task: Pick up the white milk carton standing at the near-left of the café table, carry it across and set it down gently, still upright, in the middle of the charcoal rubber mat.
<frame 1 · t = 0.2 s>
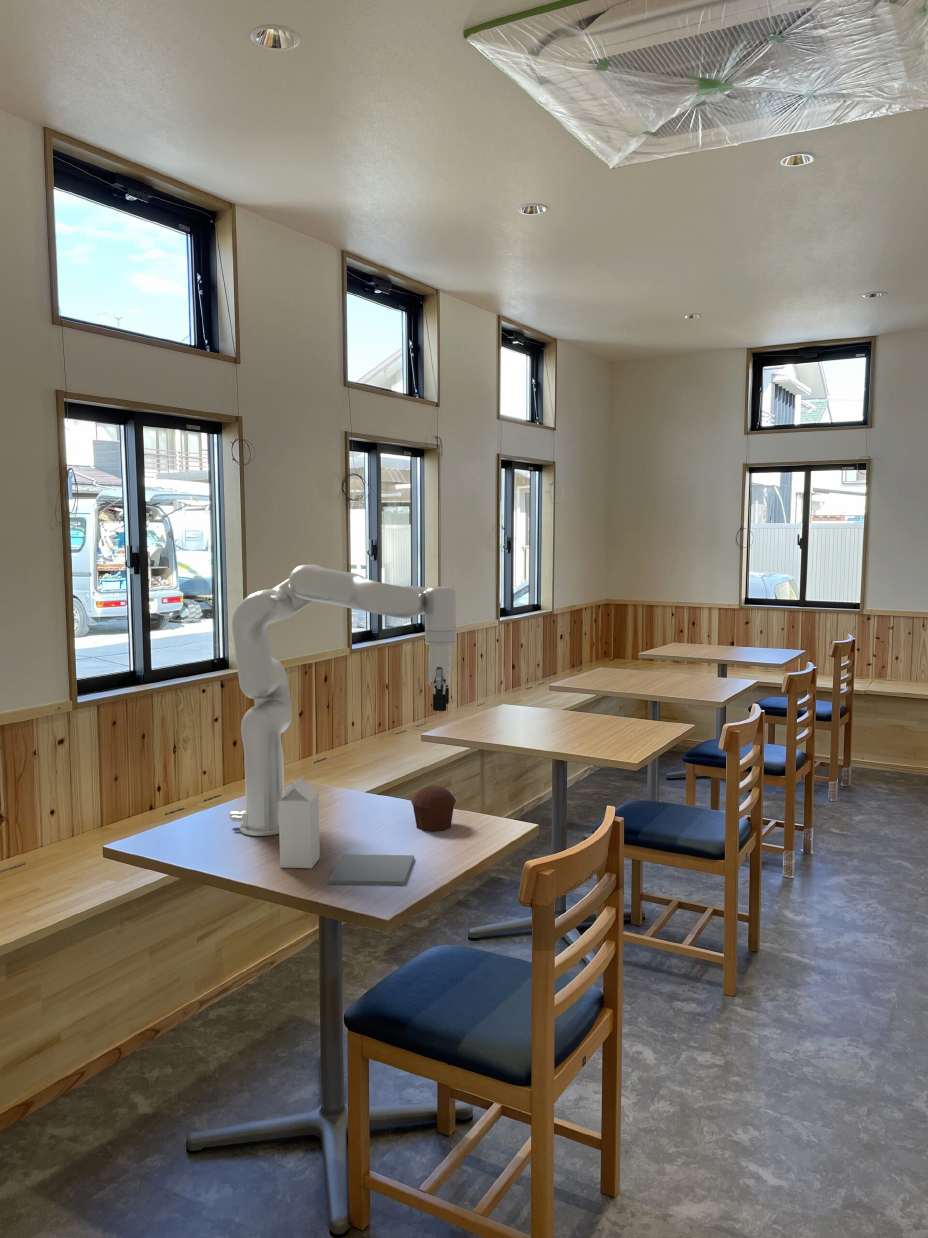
hand: (441, 707, 216), 31 cm above the table, tool pointing down, fingers open, 9 cm apart
mat: (372, 871, 192), on the table
milk carton: (300, 864, 197), on the table
muffin: (434, 827, 223), on the table
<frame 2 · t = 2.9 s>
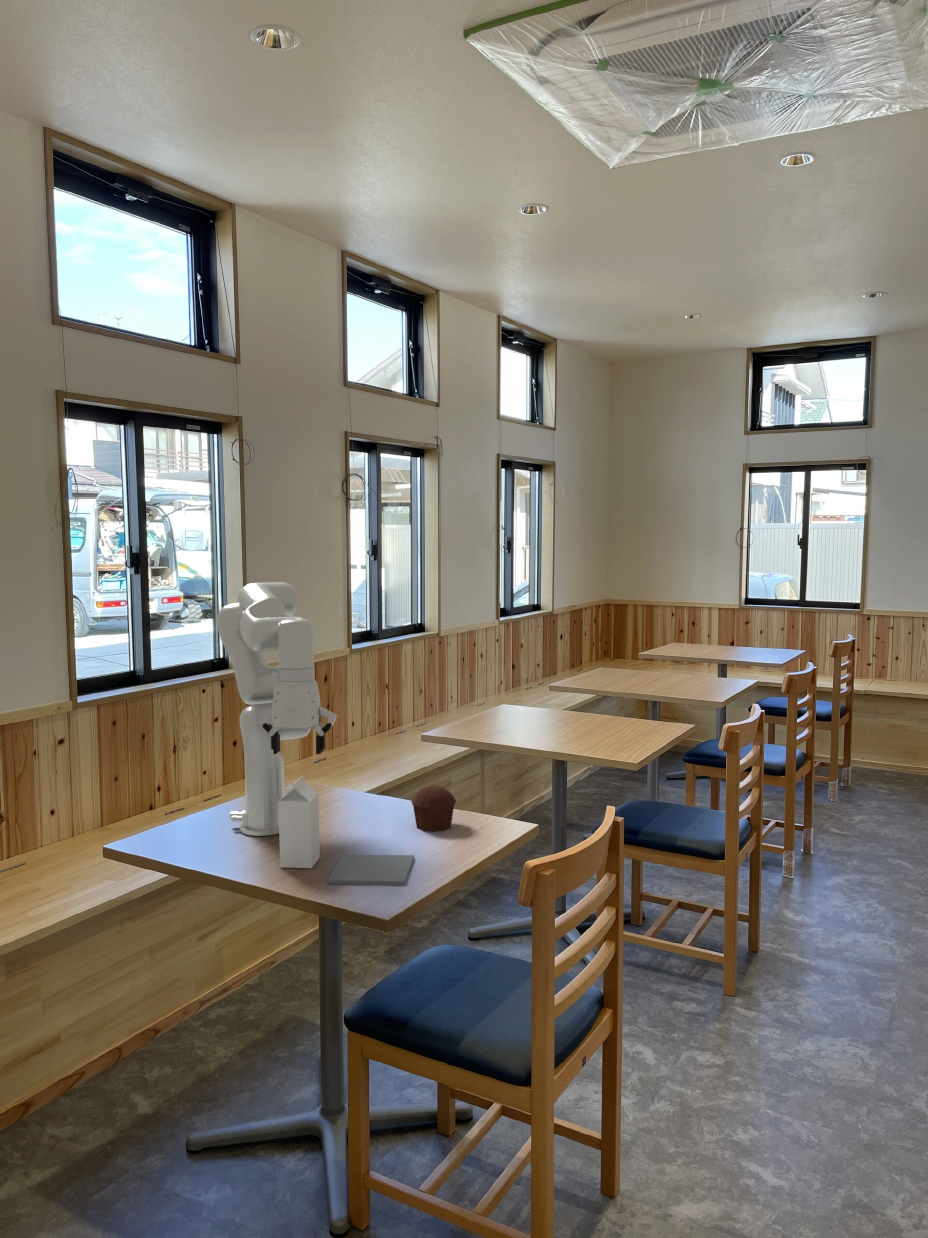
hand: (298, 752, 195), 25 cm above the table, tool pointing down, fingers open, 9 cm apart
nothing on the table moved.
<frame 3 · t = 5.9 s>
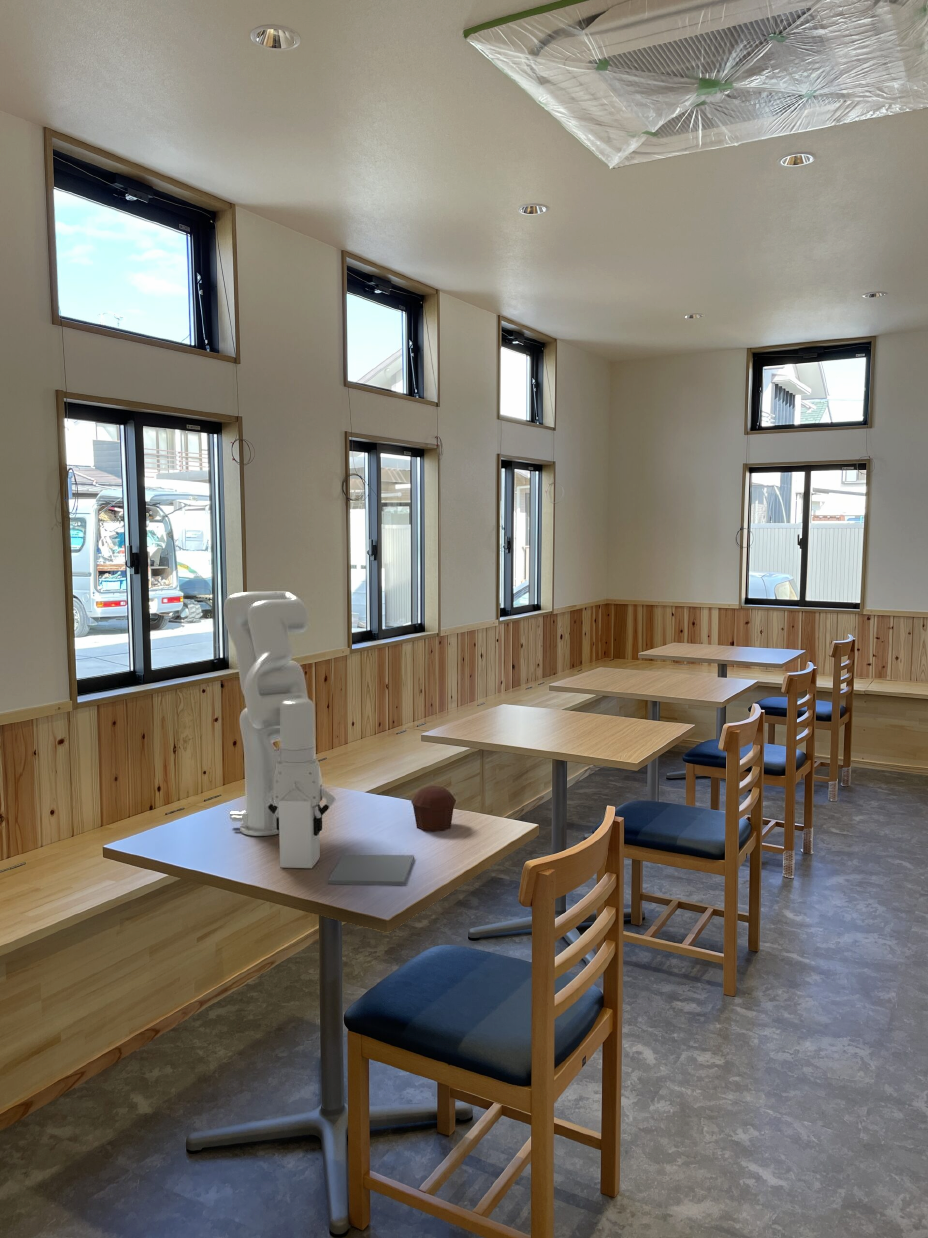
hand: (299, 833, 197), 7 cm above the table, tool pointing down, fingers closed on milk carton, 7 cm apart
milk carton: (300, 864, 197), on the table, touching gripper
everything else where it was.
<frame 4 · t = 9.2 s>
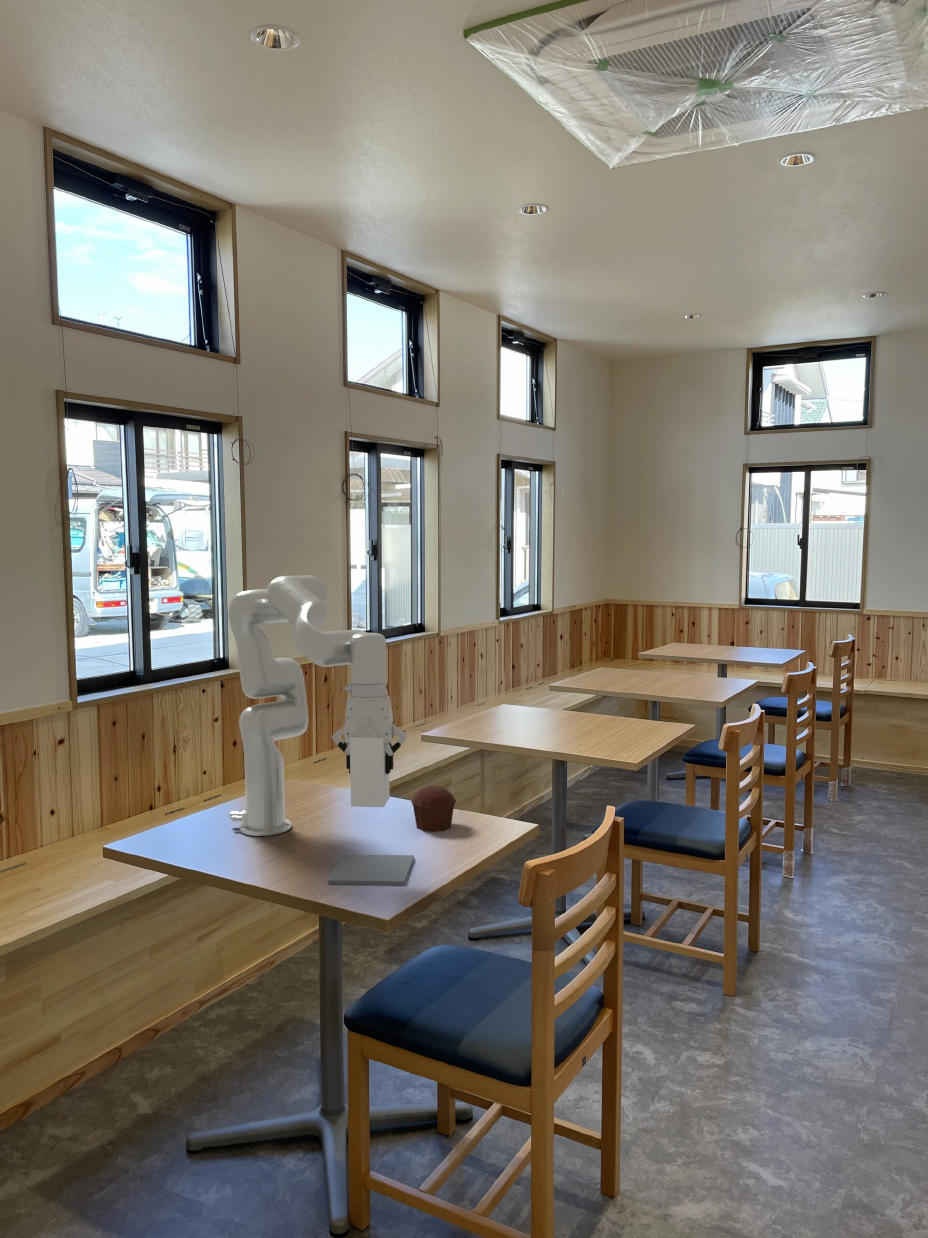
hand: (370, 772, 191), 22 cm above the table, tool pointing down, fingers closed on milk carton, 7 cm apart
milk carton: (370, 804, 191), point 15 cm above the table, touching gripper
everything else where it was.
when the fingers open (9 cm above the table, at t = 12.7 s): milk carton stays where it is, resting on mat.
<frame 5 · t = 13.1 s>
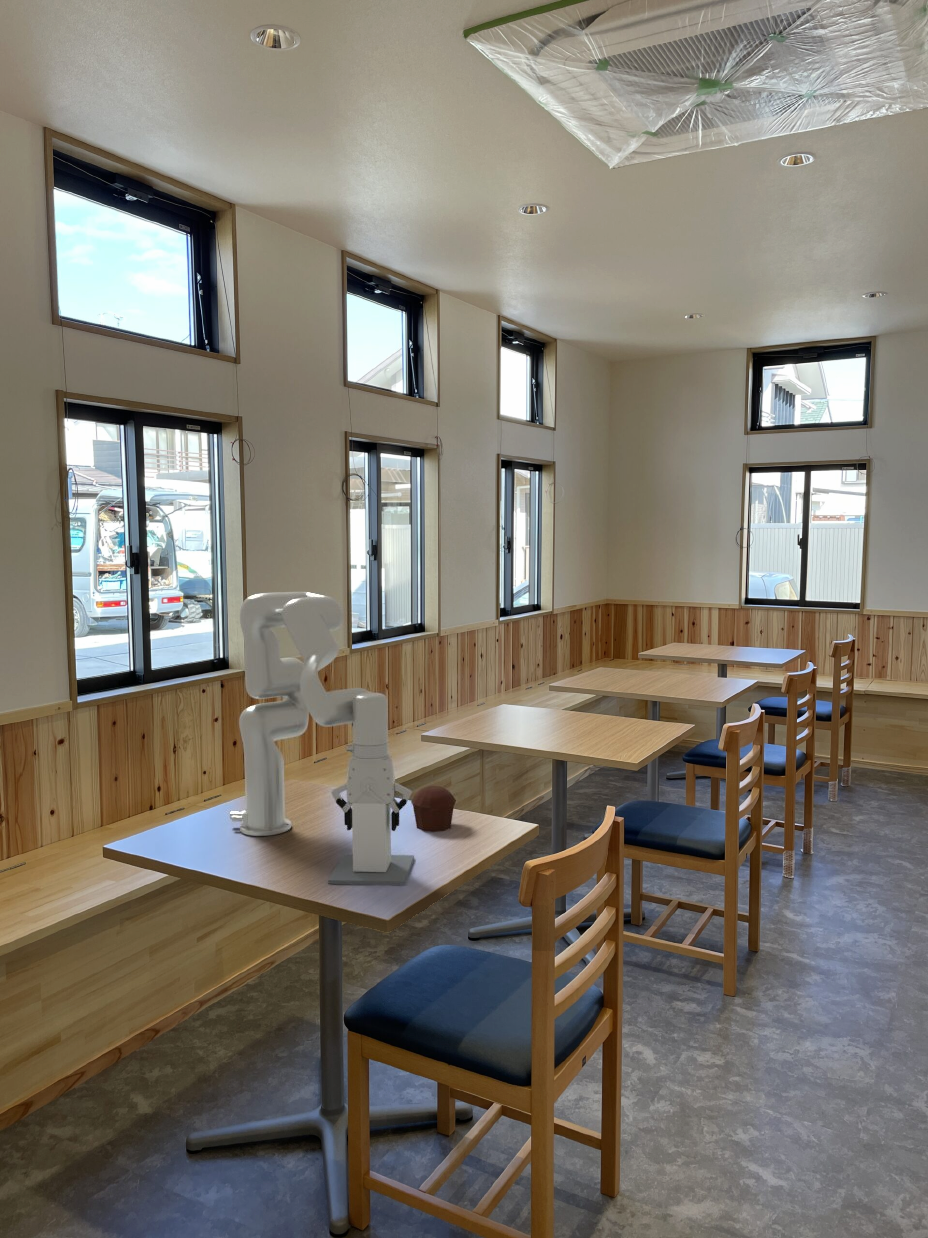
hand: (372, 828, 191), 9 cm above the table, tool pointing down, fingers open, 9 cm apart
milk carton: (372, 868, 192), point 1 cm above the table, touching mat
everything else where it was.
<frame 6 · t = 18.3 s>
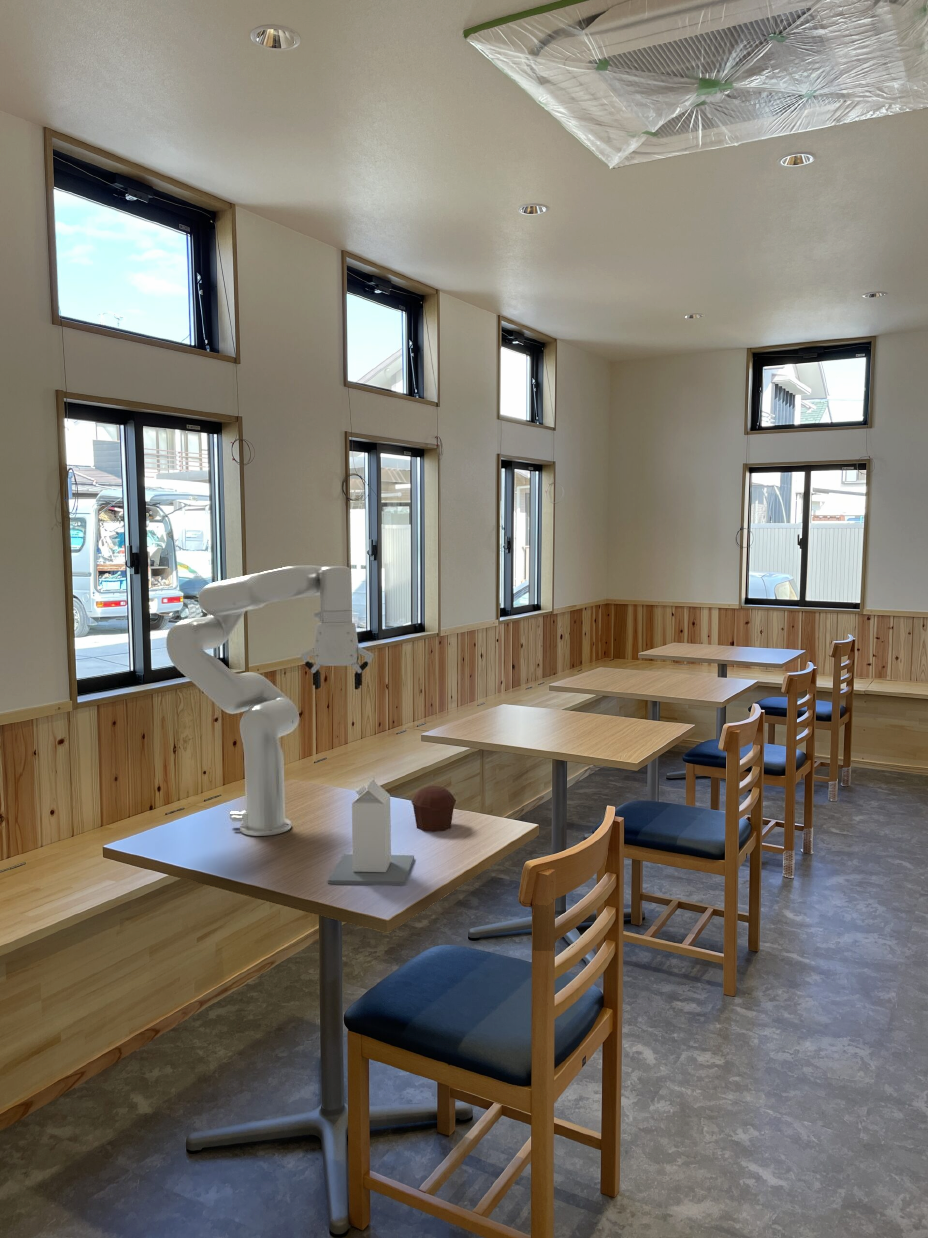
hand: (337, 688, 213), 36 cm above the table, tool pointing down, fingers open, 9 cm apart
nothing on the table moved.
at the end: milk carton inside the target area on the mat (0.1 cm from its centre), point 0.6 cm above the mat's base; milk carton tilted 0°; the gripper is holding nothing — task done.
